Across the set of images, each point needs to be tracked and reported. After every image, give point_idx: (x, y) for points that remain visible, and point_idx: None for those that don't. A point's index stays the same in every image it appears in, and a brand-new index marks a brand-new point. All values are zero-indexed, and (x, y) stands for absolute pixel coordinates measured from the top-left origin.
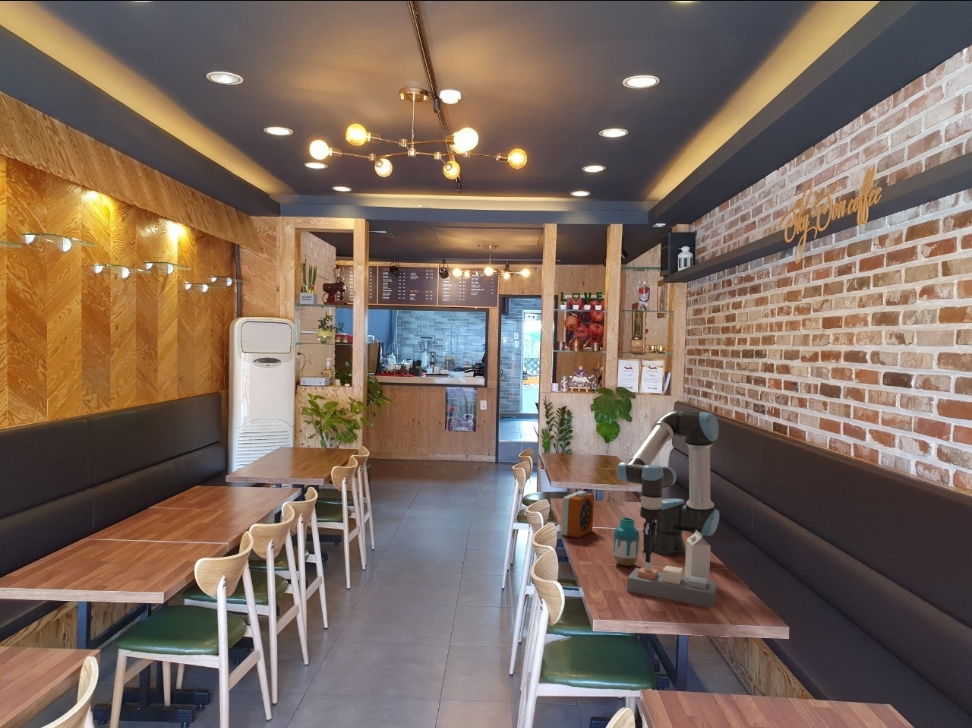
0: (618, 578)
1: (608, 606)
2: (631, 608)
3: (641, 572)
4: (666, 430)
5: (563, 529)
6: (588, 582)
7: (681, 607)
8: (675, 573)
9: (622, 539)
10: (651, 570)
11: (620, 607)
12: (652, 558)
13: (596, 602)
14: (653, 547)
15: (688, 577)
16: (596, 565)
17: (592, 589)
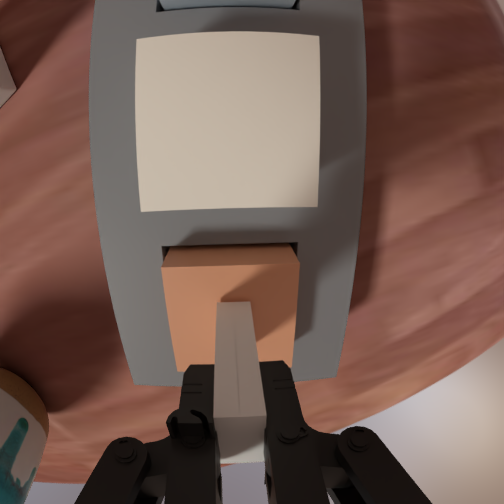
0: (172, 394)
1: (477, 326)
2: (481, 261)
3: (293, 347)
4: None
5: None
6: None
7: (404, 61)
8: (316, 80)
9: (19, 488)
10: (241, 304)
11: (479, 295)
12: (220, 370)
13: (454, 364)
14: (145, 462)
15: (95, 40)
16: None
17: (351, 416)
